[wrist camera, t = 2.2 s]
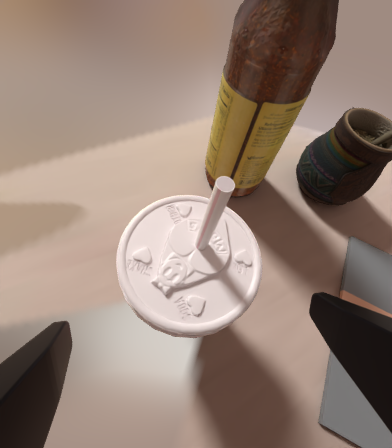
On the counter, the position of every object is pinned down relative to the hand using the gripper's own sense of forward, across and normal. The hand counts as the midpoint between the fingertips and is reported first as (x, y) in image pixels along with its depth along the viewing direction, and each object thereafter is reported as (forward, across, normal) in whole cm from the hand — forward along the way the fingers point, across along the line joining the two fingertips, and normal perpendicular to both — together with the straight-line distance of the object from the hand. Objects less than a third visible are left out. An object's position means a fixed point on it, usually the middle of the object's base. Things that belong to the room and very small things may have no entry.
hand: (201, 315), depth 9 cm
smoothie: (+9, 0, +6) cm, 11 cm away
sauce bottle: (+18, -7, -3) cm, 19 cm away
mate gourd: (+17, -17, -2) cm, 24 cm away
